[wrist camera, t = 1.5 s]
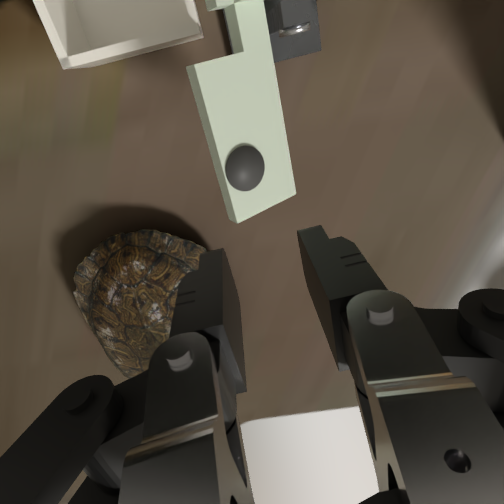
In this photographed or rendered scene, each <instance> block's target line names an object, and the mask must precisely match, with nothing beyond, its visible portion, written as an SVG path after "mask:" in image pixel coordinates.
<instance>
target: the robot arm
mask: <svg viewBox="0 0 504 504" xmlns="http://www.w3.org/2000/svg"><path fill="white" fill-rule="evenodd" d="M297 236H298V242H299V247H300V253H301V258H302V264H303V270H304V275H305V279H306V283H307V287H308V290H309V293H310V295H311V298H312V301H313V303H314V306H315V309H316V311H317V314H318V317H319V319H320V322H321V325H322V327H323V330H324V333H325V335H326V338H327V341H328V343H329V346H330V349H331V351H332V354H333V356H334V359H335V362H336V364H337V367H338V370H339V372H340V371H344V370H349V369H350V371H351V374H352V376H353V379H354V382H355V391H356V397H357V401H358V405H359V408H360V412H361V416H362V420H363V424H364V428H365V432H366V436H367V439H368V444H369V448H370V452H371V455H372V459H373V463H374V467H375V472H376V476H377V481H378V487H379V493H377V494H375V495H373V496H371V497H370V498H368V499H366V500H364V501H362V502H361V503H359V504H504V290H502V289H479V290H475V291H472V292H469V293H467V294H466V295H464V296H463V297H462V298H461V300H460V302H459V306H458V309H424V308H418V307H414V306H413V304H412V303H411V302H410V301H409V300H408V299H407V298H406V297H404V296H403V295H401V294H399V293H396V292H393V291H388V289H387V288H386V287H385V285H384V284H383V282H382V281H381V280H380V278H379V277H378V276H377V274H376V273H375V271H374V270H373V269H372V267H371V266H370V264H369V263H368V262H367V260H366V259H365V257H364V256H363V255H362V254H361V252H360V250H359V249H358V248H357V246H356V245H355V243H353V242H351V241H349V240H348V239H346V238H344V237H342V236H341V237H337V238H333V239H329V238H328V236H327V234H326V233H325V231H324V229H323V228H322V226H321V225H319V226H315V227H310V228H306V229H302V230H298V231H297ZM243 392H247V389H246V376H245V363H244V350H243V337H242V324H241V312H240V302H239V297H238V293H237V289H236V286H235V282H234V279H233V276H232V273H231V269H230V266H229V263H228V260H227V256H226V253H225V251H224V249H223V248H221V249H217V250H213V251H209V252H205V253H201V254H200V257H199V267H198V270H196V271H192V272H188V273H186V275H185V276H184V277H183V279H182V280H181V282H180V283H179V285H178V291H177V297H176V302H175V307H174V312H173V318H172V323H171V329H170V334H169V339H168V340H166V341H164V342H163V343H162V344H161V345H160V346H159V347H158V348H157V349H156V350H155V351H154V353H153V354H152V356H151V358H150V361H149V368H148V369H147V370H146V371H144V372H142V373H140V374H139V375H136V376H134V377H132V378H130V379H128V380H126V381H124V382H122V383H120V384H118V385H116V386H114V385H113V383H112V381H111V380H110V379H109V378H108V377H106V376H103V375H93V376H88V377H85V378H83V379H80V380H78V381H76V382H75V383H73V384H71V385H70V386H68V387H67V388H66V389H65V390H63V391H62V392H61V393H60V394H59V395H58V396H57V397H56V398H55V399H54V400H53V402H52V403H51V404H50V405H49V406H48V407H47V408H46V409H45V410H44V411H43V412H42V413H41V414H40V415H39V417H38V418H37V419H36V420H35V421H34V422H33V423H32V424H31V425H30V426H29V427H28V428H27V429H26V431H25V432H24V433H23V434H22V435H21V436H20V437H19V438H18V439H17V440H16V441H15V442H14V443H13V445H12V446H11V447H10V448H9V449H8V450H7V451H6V452H5V453H4V454H3V455H2V456H1V457H0V504H58V503H59V502H60V500H61V499H62V497H63V496H64V495H65V493H66V492H67V491H68V489H69V488H70V486H71V485H72V484H73V482H74V481H75V480H76V478H77V477H78V475H79V474H80V473H81V471H82V470H83V471H84V472H85V473H86V474H87V475H88V476H87V477H86V479H85V480H84V482H83V483H82V484H81V486H80V487H79V489H78V490H77V491H76V493H75V494H74V496H73V497H72V498H71V500H70V501H69V503H68V504H255V502H254V498H253V493H252V488H251V483H250V477H249V472H248V466H247V461H246V456H245V450H244V444H243V439H242V433H241V428H240V422H239V418H238V415H237V413H236V412H237V405H236V394H238V393H243Z"/></svg>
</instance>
